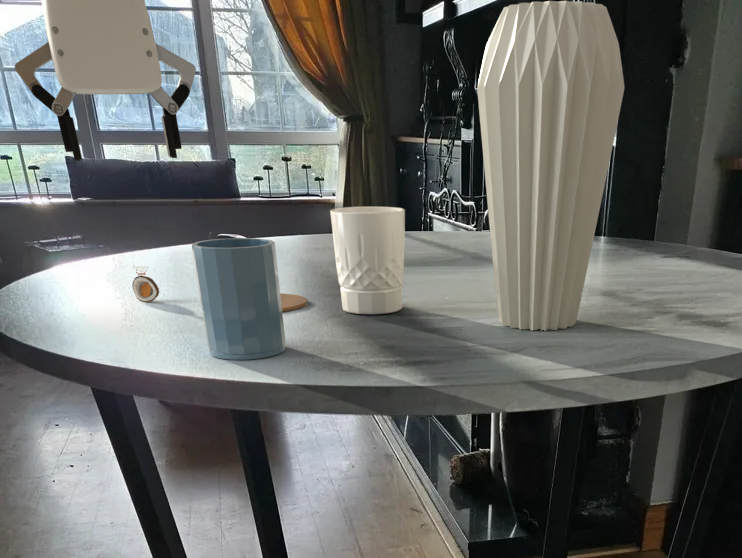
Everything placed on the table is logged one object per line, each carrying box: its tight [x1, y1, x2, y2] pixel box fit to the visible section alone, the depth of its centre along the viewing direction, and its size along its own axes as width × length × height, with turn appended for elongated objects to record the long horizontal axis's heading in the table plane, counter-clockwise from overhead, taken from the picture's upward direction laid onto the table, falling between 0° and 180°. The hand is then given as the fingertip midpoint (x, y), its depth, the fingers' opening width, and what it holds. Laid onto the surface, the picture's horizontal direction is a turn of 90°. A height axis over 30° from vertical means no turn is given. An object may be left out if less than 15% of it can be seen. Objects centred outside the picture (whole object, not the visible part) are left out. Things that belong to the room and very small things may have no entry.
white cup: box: [329, 206, 406, 315], centre depth 85 cm, size 8×8×10 cm
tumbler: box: [191, 237, 286, 361], centre depth 69 cm, size 7×7×9 cm
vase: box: [476, 0, 625, 332], centre depth 74 cm, size 13×13×26 cm
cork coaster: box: [280, 292, 308, 313], centre depth 89 cm, size 10×10×1 cm
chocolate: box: [132, 264, 160, 303], centre depth 90 cm, size 3×2×4 cm
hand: (126, 158), depth 84 cm, fingers open, 9 cm apart
